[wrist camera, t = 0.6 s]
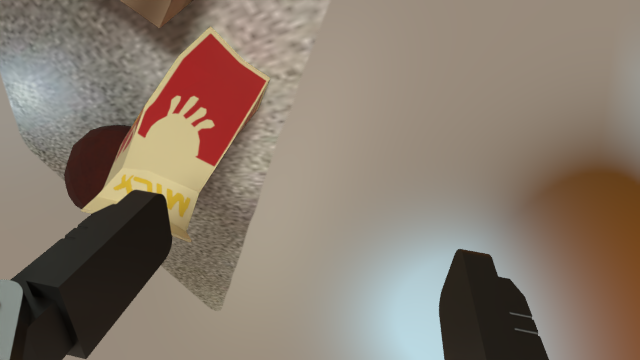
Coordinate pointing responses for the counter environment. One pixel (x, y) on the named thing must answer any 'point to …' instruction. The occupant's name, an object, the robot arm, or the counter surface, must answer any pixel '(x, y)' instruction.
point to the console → (157, 9)
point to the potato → (92, 162)
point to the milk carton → (185, 129)
